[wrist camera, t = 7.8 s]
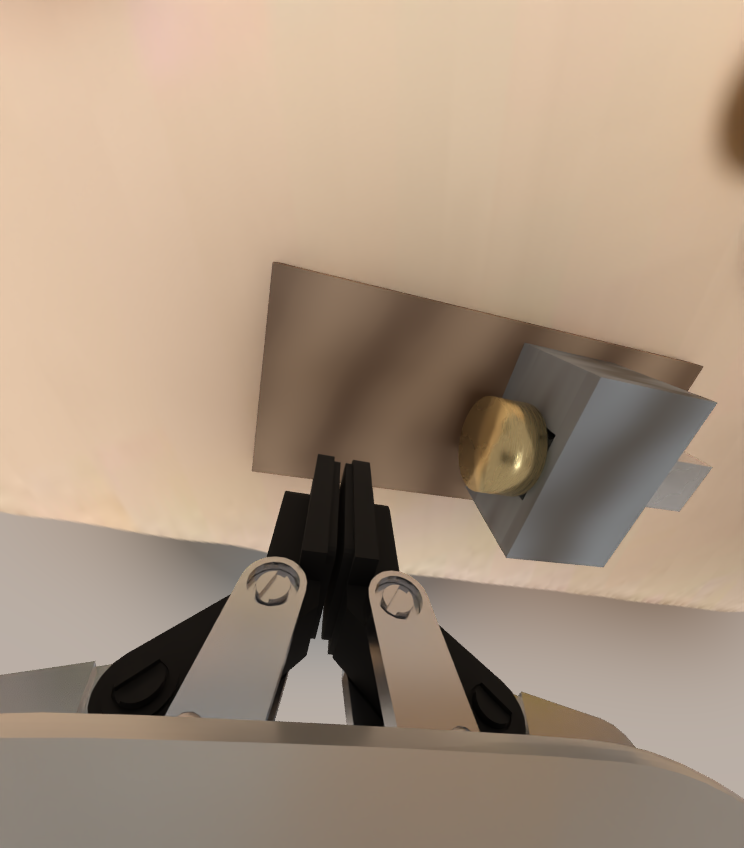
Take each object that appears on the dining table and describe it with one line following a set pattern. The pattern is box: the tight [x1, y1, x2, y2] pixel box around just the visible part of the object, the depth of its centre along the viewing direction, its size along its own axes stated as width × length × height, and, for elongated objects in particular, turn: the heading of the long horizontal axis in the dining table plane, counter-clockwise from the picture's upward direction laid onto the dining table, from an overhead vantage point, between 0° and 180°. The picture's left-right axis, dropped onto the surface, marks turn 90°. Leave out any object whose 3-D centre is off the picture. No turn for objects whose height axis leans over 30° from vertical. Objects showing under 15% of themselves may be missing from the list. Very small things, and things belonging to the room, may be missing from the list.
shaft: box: [458, 396, 712, 511], centre depth 19 cm, size 12×5×5 cm, turn 77°
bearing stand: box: [252, 262, 717, 567], centre depth 19 cm, size 26×12×7 cm, turn 77°
